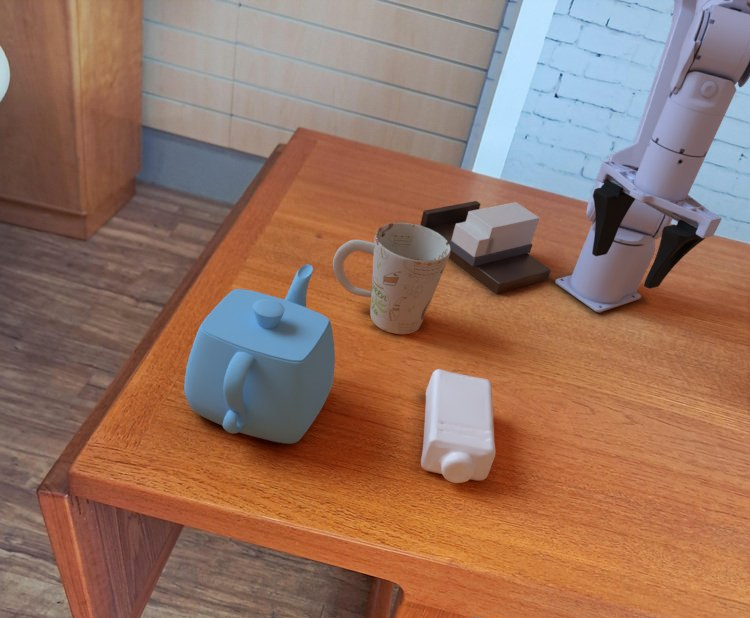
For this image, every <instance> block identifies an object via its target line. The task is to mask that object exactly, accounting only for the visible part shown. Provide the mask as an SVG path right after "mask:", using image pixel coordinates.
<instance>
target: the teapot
mask: <svg viewBox="0 0 750 618" xmlns="http://www.w3.org/2000/svg"><path fill="white" fill-rule="evenodd" d="M313 271H314V268H313V266H312V264H309V263H307V264H304V265H302V266H301V267H300V268H299V269H298V270H297V271H296V273H295V275H294V278H293V280H292V282H291V285H290V287H289V289H288V291H287V293H286V296H285V298H281V297H277V296H275V295H274V296H273V295H270V294H266V293H262V292H258V291H255V290H249V289H246V288H245V289H244V288H234V289H232V290H231V291H230V292H229V293H227V294H226V295H225V296H224V297H223V298H222V300H220V301H219V303H218V304H217V305H216V306H214V308H213V309H212V310H211V311H210V312H209V314H208V315H206V317H205V318H204V319H203V321H202V322H201V324H200V325H199V328H198V331H197V332H196V335H195V338H194V341H193V343H192V346H191V349H190V353H189V356H188V360H187V364H186V369H185V376H184V384H183V385H184V387H183V388H184V390H183V391H184V396H185V399H186V401H187V403H188V406H189V407H190V409H191V410H192V411H193V412H195V413H196V414H197V415H199V416H201V417H203V418H204V419H207V420H208V421H211V422H212V423H215V424H217V425H220V426H222V428H223V429H224V430H225V432H227V433H229V434H238V433H241V434H243V435H248V436H250V437H255V438H258V439H262V440H265V441H266V440H267V441H271V442H275V443H279V444H280V443H281V444H288V445H289V444H296V443H298V442H299V441H300V440H302V438H303V436H304V435H305V434H306V433H307V431H308V430H309V429H310V427H311V425H313V423H314V421H315V420H316V418H317V417H318V416H319V414H320V412H321V410H322V409H323V407H324V405H325V403H326V401H327V399H328V397H329V394H330V392H331V390H332V388H333V384H334V377H335V368H336V367H335V365H336V364H335V363H336V355H335V354H336V350H335V340H334V334H333V326H332V322H331V320H330V319H329V318H328V317H327V316H325V315H324V314H322V313H320V312H318V311H315V310H313V309H311V308H308V307H307V295H308V287H309V283H310V280H311V278H312V275H313Z"/></svg>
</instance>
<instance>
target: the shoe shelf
mask: <svg viewBox="0 0 750 618" xmlns="http://www.w3.org/2000/svg"><path fill="white" fill-rule="evenodd" d="M478 209H481V203H480V202H478V201H477V200H474V201H467V202H463V203H457V204H451V205H445V206H442V207H436V208H430V209H426V210H423V212H422V215H421V220H420V224H419V225H420V226H423V227H426V228H429V229H431V230H433V231H435V232H437V233H438V234H440V235H441V236H443V237H444V238H445V239H446V240H447V242H448V243H450V240H452V236H453V232H454V229H455V225H456V224H457V223H462V222H466V219H467V215H468V212H469V211H473V210H478ZM448 259H450V260H451V261H452V262H454V264H456V265H457V266H459V267H460V268H461V269H463V270H464V271H466V272H467V273H468V274H469V275H471V276H472V277H473V278H475V279H476V280H477V281H478V282H480V283H481V284H483V285H484V286H485V287H487V288H488V289H489V290H491V291H492V292H493V293H494V294H498V295H499V294H501V293H505V292H508V291H511V290H515V289H518V288H522V287H526V286H529V285H533V284H536V283H540V282H543V281H547V280H549V277H550V276H551V275H550V274H551V271H552V269H551V268H550V267H548V266H547V265H545V264H544V263H543V262H541V261H540V260H538V258H537V259H536V258H535V257H534V256H533V255H531V254H530V253H526V254H522V255H518V256H514V257H510V258H506V259H502V260H498V261H494V262H490V263H486V264H482V265H478V266H474V267H473V266H471V265H470V264H469V263H467V262H466V261H465V260H463V259H462V258H461V257H459V256H458V255H457V254H455V253H454V252H453V251H451V250H450V255H449V258H448Z"/></svg>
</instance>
